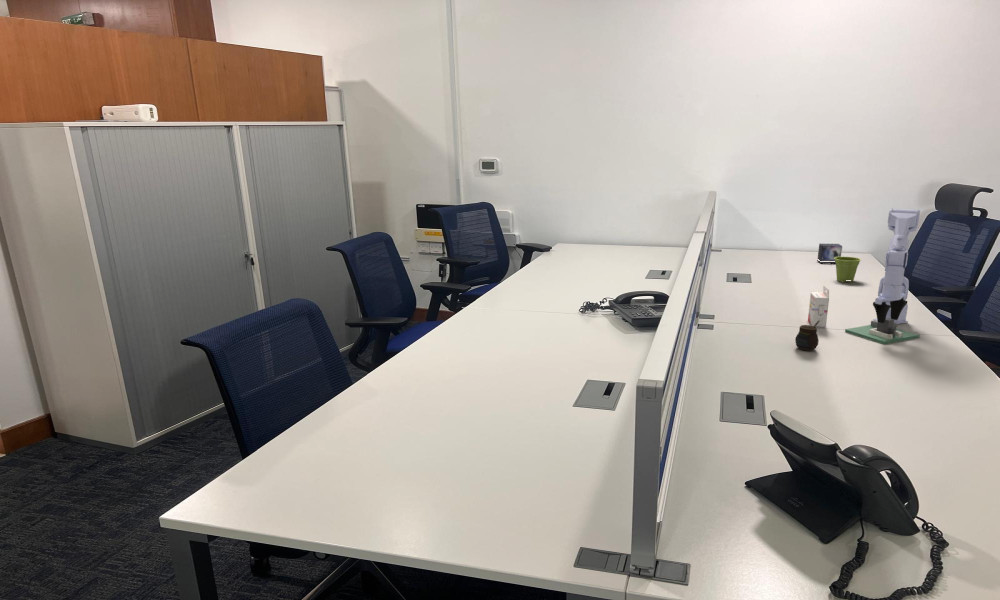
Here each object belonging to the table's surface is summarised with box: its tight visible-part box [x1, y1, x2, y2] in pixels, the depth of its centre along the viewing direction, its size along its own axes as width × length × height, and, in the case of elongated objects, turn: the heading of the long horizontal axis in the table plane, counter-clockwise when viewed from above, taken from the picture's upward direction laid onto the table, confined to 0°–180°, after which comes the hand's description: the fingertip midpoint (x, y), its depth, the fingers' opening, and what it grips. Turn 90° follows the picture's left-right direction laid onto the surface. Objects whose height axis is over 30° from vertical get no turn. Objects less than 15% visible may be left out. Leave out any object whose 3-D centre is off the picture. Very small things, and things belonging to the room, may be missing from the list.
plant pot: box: [834, 256, 862, 283], centre depth 318 cm, size 12×12×11 cm
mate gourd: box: [794, 321, 820, 352], centre depth 222 cm, size 7×8×10 cm
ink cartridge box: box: [807, 285, 830, 328], centre depth 250 cm, size 9×5×15 cm, turn 168°
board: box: [844, 319, 920, 345], centre depth 237 cm, size 18×16×3 cm
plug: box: [877, 318, 896, 337], centre depth 233 cm, size 3×6×6 cm, turn 27°
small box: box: [816, 243, 843, 264], centre depth 360 cm, size 11×6×10 cm, turn 80°
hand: (887, 320), depth 232 cm, fingers open, 7 cm apart
